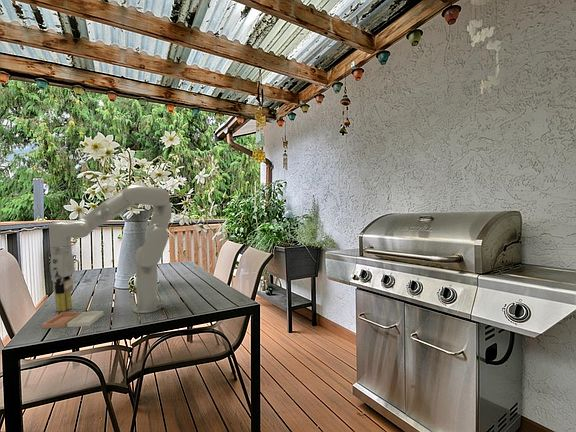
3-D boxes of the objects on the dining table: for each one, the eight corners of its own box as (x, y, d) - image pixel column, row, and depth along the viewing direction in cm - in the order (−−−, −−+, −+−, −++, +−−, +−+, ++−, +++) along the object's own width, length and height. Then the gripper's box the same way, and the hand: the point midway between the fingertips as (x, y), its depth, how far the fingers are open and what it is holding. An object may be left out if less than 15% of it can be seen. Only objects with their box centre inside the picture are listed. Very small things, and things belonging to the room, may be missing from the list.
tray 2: (103, 316, 147) (103, 310, 146) (89, 327, 133) (89, 321, 133) (84, 317, 145) (84, 311, 145) (67, 328, 132) (67, 323, 131)
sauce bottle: (69, 308, 157) (68, 269, 156) (73, 311, 153) (72, 270, 152) (53, 312, 152) (52, 271, 151) (57, 315, 148) (56, 273, 147)
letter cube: (73, 290, 140) (72, 278, 140) (66, 293, 135) (66, 281, 135) (60, 291, 140) (60, 279, 139) (54, 294, 135) (53, 282, 134)
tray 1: (81, 317, 145) (81, 311, 145) (64, 329, 131) (64, 323, 131) (61, 318, 144) (61, 312, 144) (42, 330, 130) (42, 324, 130)
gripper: (59, 253, 129) (62, 296, 130) (80, 247, 146) (82, 285, 146) (39, 253, 128) (41, 298, 129) (63, 247, 145) (65, 286, 145)
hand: (63, 291), depth 138 cm, fingers closed on letter cube, 5 cm apart
